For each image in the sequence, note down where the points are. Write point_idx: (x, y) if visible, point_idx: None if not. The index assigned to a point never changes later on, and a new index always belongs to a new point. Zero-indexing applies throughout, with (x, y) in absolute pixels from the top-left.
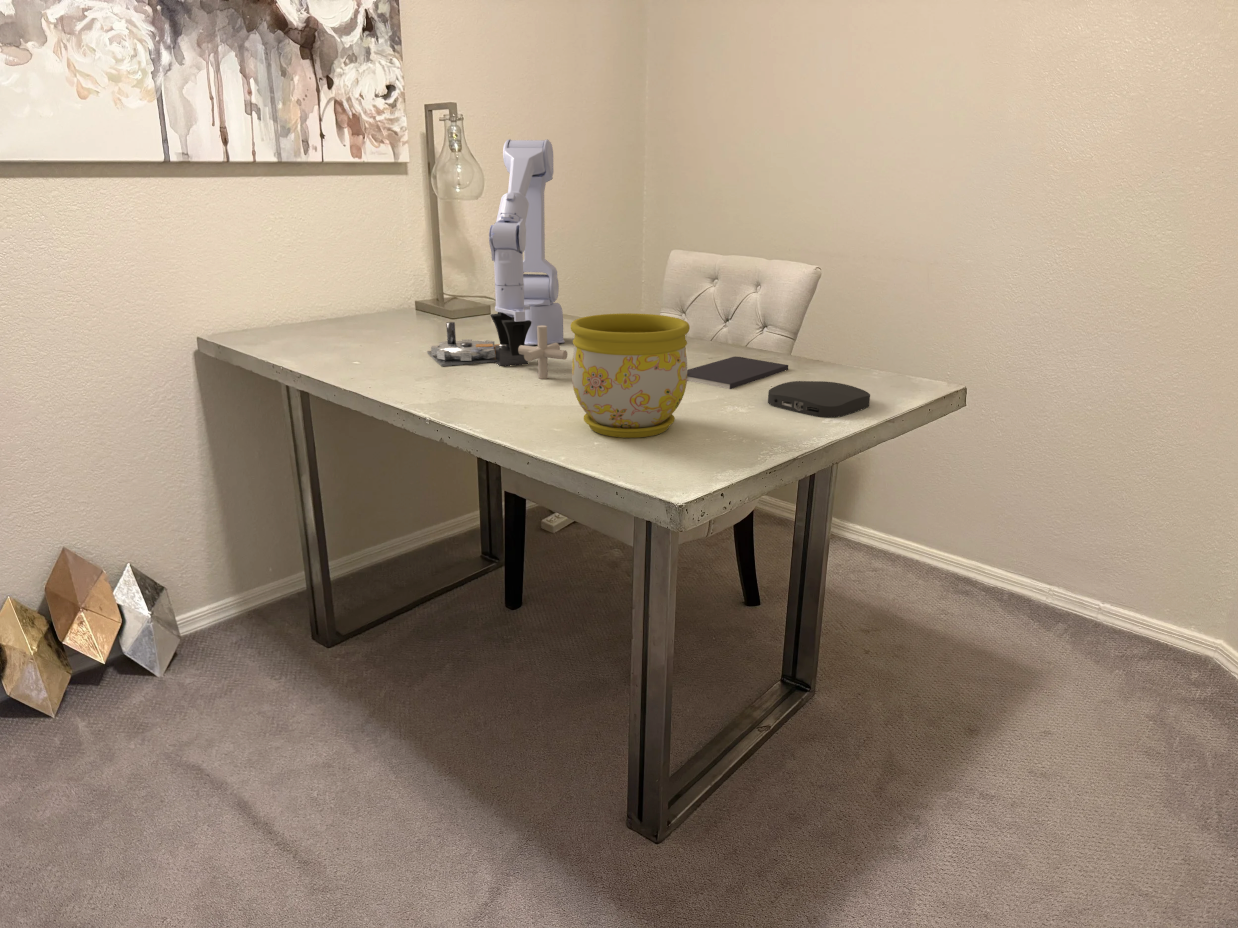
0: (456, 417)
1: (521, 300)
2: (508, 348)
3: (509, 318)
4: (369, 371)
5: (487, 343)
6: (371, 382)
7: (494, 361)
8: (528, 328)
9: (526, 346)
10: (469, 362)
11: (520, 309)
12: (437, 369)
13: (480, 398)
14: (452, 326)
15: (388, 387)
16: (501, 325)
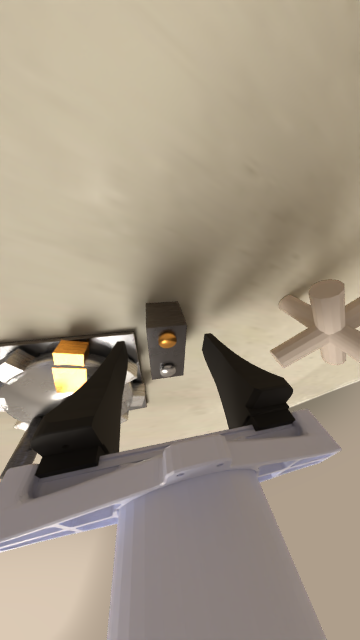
0: (327, 387)
1: (277, 533)
2: (183, 359)
3: (108, 423)
4: (147, 441)
5: (40, 375)
6: (191, 433)
7: (137, 352)
8: (268, 373)
9: (300, 358)
10: (142, 383)
11: (292, 464)
12: (160, 405)
13: (301, 374)
14: (29, 463)
15: (215, 424)
16: (118, 413)
